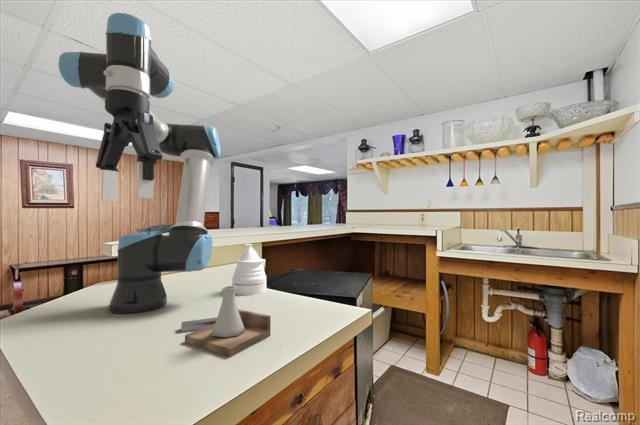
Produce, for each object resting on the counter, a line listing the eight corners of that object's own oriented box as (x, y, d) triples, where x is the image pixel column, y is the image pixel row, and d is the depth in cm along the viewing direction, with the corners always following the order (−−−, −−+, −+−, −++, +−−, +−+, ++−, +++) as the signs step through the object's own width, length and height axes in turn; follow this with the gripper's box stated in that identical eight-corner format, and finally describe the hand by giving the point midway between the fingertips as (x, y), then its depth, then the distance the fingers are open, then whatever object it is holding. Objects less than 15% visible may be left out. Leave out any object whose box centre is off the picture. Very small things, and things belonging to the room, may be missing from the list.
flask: (216, 326, 67) (217, 284, 68) (248, 325, 68) (248, 283, 68) (206, 339, 60) (207, 291, 60) (241, 338, 61) (242, 290, 61)
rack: (184, 342, 62) (185, 321, 62) (227, 324, 73) (227, 307, 73) (230, 356, 55) (230, 333, 55) (270, 335, 66) (270, 315, 66)
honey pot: (262, 294, 103) (262, 245, 104) (227, 294, 103) (227, 245, 104) (269, 286, 116) (269, 242, 117) (237, 286, 116) (238, 242, 117)
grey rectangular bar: (181, 330, 70) (181, 321, 70) (224, 324, 74) (224, 316, 74) (181, 333, 68) (181, 325, 68) (225, 327, 72) (225, 319, 72)
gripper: (78, 102, 61) (75, 201, 60) (143, 70, 48) (140, 194, 48) (117, 113, 67) (115, 203, 67) (183, 88, 55) (181, 198, 54)
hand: (125, 199), depth 57 cm, fingers open, 13 cm apart
